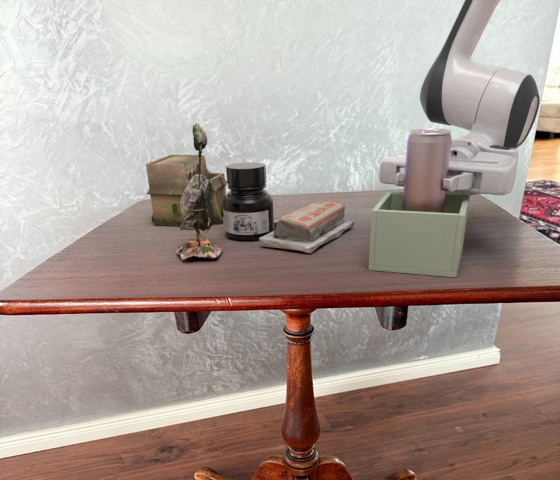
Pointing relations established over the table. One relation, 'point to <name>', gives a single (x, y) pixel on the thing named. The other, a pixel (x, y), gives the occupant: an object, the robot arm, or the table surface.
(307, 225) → the packaged product
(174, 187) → the miniature house
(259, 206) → the ink bottle
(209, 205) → the plant with pod
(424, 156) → the beverage can
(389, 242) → the waste bin
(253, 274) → the table surface
